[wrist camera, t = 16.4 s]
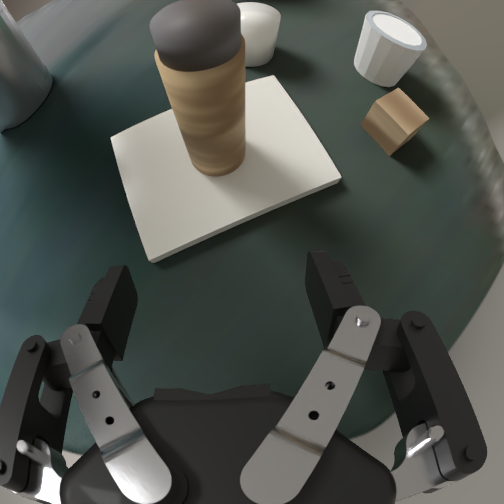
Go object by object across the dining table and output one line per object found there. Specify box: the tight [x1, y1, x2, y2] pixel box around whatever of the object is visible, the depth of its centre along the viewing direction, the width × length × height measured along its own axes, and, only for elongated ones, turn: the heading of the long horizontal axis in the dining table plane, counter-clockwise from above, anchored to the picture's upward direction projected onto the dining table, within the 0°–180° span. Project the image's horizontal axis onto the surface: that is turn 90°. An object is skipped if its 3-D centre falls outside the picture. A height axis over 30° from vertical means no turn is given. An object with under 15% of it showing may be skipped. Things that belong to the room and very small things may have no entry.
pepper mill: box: [150, 0, 246, 176], centre depth 16 cm, size 4×4×13 cm
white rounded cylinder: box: [237, 2, 281, 67], centre depth 23 cm, size 5×5×6 cm
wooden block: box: [360, 88, 429, 156], centre depth 23 cm, size 4×4×4 cm
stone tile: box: [111, 75, 341, 263], centre depth 23 cm, size 16×12×1 cm
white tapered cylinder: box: [354, 11, 427, 87], centre depth 23 cm, size 7×7×7 cm
